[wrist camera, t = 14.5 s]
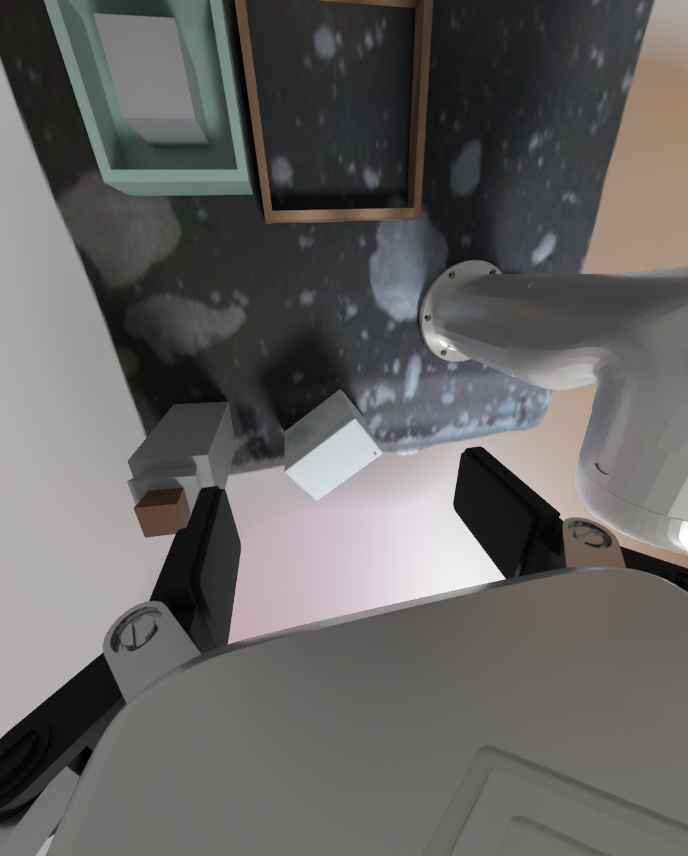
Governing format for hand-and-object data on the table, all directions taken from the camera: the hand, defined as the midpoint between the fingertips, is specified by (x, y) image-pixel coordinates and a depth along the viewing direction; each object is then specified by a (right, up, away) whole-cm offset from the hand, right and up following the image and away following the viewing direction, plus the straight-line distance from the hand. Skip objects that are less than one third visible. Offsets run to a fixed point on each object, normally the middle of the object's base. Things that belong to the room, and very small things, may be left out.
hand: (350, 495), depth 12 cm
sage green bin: (-16, +31, +15) cm, 38 cm away
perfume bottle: (-19, +3, +29) cm, 35 cm away
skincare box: (-3, +3, +33) cm, 33 cm away
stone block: (-15, +31, +15) cm, 37 cm away
